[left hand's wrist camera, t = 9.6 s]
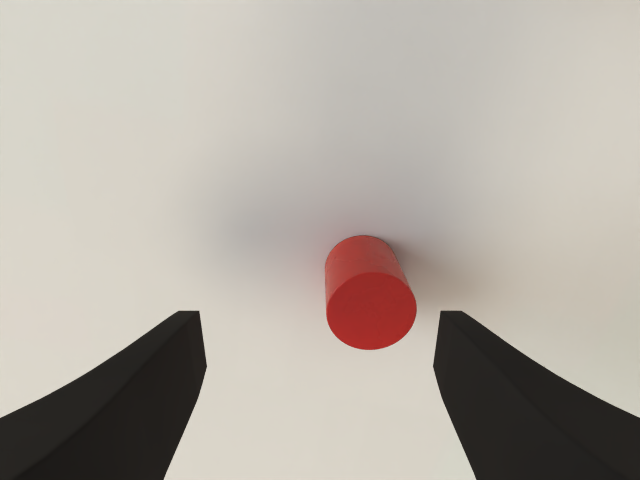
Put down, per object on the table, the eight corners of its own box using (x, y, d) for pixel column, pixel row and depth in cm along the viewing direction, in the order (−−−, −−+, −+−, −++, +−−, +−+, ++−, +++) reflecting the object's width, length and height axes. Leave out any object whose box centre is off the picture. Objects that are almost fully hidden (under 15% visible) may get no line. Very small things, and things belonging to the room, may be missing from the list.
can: (310, 270, 21) (307, 315, 17) (360, 220, 20) (371, 254, 15) (361, 312, 22) (371, 365, 18) (412, 266, 21) (435, 310, 16)
